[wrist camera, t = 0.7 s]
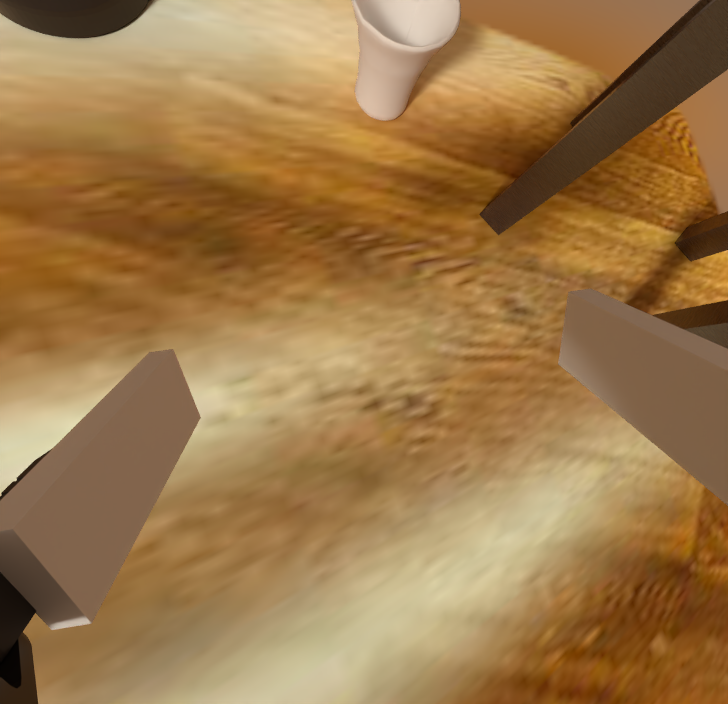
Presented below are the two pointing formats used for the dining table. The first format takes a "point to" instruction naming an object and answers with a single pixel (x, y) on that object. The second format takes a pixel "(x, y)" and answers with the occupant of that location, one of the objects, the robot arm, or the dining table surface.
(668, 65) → the rail stand
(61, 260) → the dining table surface
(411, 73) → the cup
